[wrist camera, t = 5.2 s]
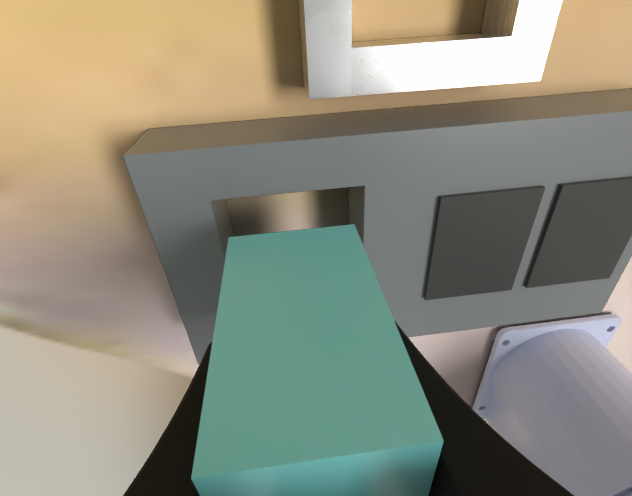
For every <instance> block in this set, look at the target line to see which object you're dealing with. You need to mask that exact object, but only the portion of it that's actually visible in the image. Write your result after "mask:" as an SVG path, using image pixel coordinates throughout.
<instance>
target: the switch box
mask: <svg viewBox="0 0 632 496" xmlns="http://www.w3.org/2000/svg"><path fill="white" fill-rule="evenodd" d="M123 157H124V160H125V163H126V166H127V168H128V171H129V174H130V177H131V179H132V182H133V185H134V188H135V190H136V193H137V196H138V199H139V202H140V204H141V207H142V210H143V213H144V215H145V218H146V221H147V224H148V226H149V229H150V232H151V235H152V237H153V240H154V243H155V246H156V249H157V251H158V254H159V257H160V260H161V262H162V265H163V268H164V271H165V273H166V276H167V279H168V282H169V284H170V287H171V290H172V293H173V296H174V298H175V301H176V304H177V307H178V309H179V312H180V315H181V318H182V320H183V323H184V326H185V329H186V331H187V334H188V337H189V340H190V343H191V345H192V348H193V351H194V354H195V356H196V359H197V362H198V364H200V363H201V361H202V358H203V356H204V354H205V351H206V349H207V347H208V345H209V344H210V343H211V342H212V341H213V335H214V328H215V322H216V315H217V309H218V303H219V296H220V290H221V283H222V277H223V270H224V264H225V258H226V251H227V245H228V238H229V237H234V234H233V230H232V225H231V220H230V216H229V211H228V206H227V201H226V199H231V198H241V197H252V196H262V195H272V194H283V193H293V192H303V191H313V190H324V189H334V188H344V187H349V225H351V224H355V227H356V229H357V232H358V234H359V237H360V239H361V241H362V244H363V246H364V249H365V251H366V253H367V256H368V258H369V261H370V263H371V266H372V268H373V270H374V273H375V275H376V278H377V280H378V283H379V285H380V287H381V290H382V292H383V295H384V297H385V300H386V302H387V304H388V307H389V309H390V312H391V314H392V316H393V319H394V321H396V322H397V324H398V325H399V327H400V328H401V329H402V330H403V332H404V333H405V334H406V336H407V337H414V336H422V335H430V334H437V333H445V332H453V331H461V330H469V329H477V328H485V327H492V326H500V325H508V324H516V323H524V322H532V321H539V320H547V319H555V318H563V317H571V316H579V315H586V314H594V313H601V312H602V310H603V308H604V306H605V305H606V303H607V301H608V299H609V297H610V295H611V293H612V292H613V290H614V288H615V286H616V284H617V282H618V280H619V279H620V277H621V275H622V273H623V271H624V269H625V267H626V266H627V264H628V262H629V260H630V258H631V256H632V89H621V90H609V91H597V92H585V93H573V94H561V95H548V96H536V97H524V98H512V99H500V100H488V101H476V102H464V103H452V104H440V105H428V106H416V107H404V108H392V109H380V110H368V111H356V112H344V113H332V114H320V115H308V116H296V117H284V118H272V119H259V120H247V121H235V122H223V123H211V124H199V125H187V126H175V127H163V128H151V129H148V130H147V131H146V132H145V133H144V134H143V135H142V136H141V137H140V138H139V139H138V140H137V141H136V142H135V143H134V145H133V146H132V147H131V148H130V149H129V150H128V151H127V152H126V153H125V154H124V155H123Z"/></svg>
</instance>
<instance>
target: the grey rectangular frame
mask: <svg viewBox="0 0 632 496" xmlns="http://www.w3.org/2000/svg"><path fill="white" fill-rule="evenodd" d="M298 1H299V17H300V32H301V47H302V63H303V78H304V89H305V91H306V93H307V95H308V97H309V99H321V98H333V97H346V96H358V95H371V94H383V93H396V92H408V91H421V90H433V89H446V88H458V87H471V86H483V85H496V84H508V83H521V82H533V81H540V80H541V77H542V73H543V69H544V66H545V62H546V58H547V55H548V51H549V47H550V44H551V40H552V36H553V33H554V29H555V26H556V22H557V18H558V15H559V11H560V7H561V4H562V0H487V1H486V7H485V13H484V18H483V24H482V30H481V33H473V34H459V35H445V36H430V37H416V38H402V39H387V40H373V41H359V42H352V0H298Z"/></svg>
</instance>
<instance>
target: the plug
mask: <svg viewBox="0 0 632 496" xmlns="http://www.w3.org/2000/svg"><path fill="white" fill-rule="evenodd" d="M443 442H444V440H443V438H442V435H441V433H440V430H439V428H438V426H437V423H436V421H435V418H434V416H433V413H432V411H431V409H430V406H429V404H428V401H427V399H426V396H425V394H424V392H423V389H422V387H421V384H420V382H419V379H418V377H417V375H416V372H415V370H414V367H413V365H412V363H411V360H410V358H409V355H408V353H407V350H406V348H405V346H404V343H403V341H402V338H401V336H400V333H399V331H398V329H397V326H396V324H395V321H394V319H393V316H392V314H391V312H390V309H389V307H388V304H387V302H386V300H385V297H384V295H383V292H382V290H381V287H380V285H379V283H378V280H377V278H376V275H375V273H374V270H373V268H372V266H371V263H370V261H369V258H368V256H367V253H366V251H365V249H364V246H363V244H362V241H361V239H360V237H359V234H358V232H357V229H356V227H355V224H351V225H341V226H332V227H322V228H312V229H303V230H293V231H283V232H274V233H264V234H255V235H245V236H235V237H229V238H228V245H227V251H226V258H225V264H224V270H223V277H222V283H221V290H220V296H219V303H218V309H217V315H216V322H215V328H214V335H213V341H212V348H211V354H210V360H209V367H208V373H207V380H206V386H205V393H204V399H203V405H202V412H201V418H200V425H199V431H198V438H197V444H196V450H195V457H194V463H193V470H192V476H191V479H192V481H193V483H194V485H195V487H196V489H197V491H198V493H199V495H200V496H428V495H429V492H430V488H431V485H432V481H433V477H434V474H435V470H436V467H437V463H438V460H439V456H440V453H441V449H442V446H443Z"/></svg>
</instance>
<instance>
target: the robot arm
mask: <svg viewBox="0 0 632 496" xmlns="http://www.w3.org/2000/svg"><path fill="white" fill-rule="evenodd" d="M620 323H621V318H620V317H619V316H618V315H616V314H608V315H600V316H592V317H584V318H576V319H568V320H561V321H553V322H545V323H537V324H529V325H522V326H514V327H506V328H503V329H501V330H499V331H498V333H497V335H496V338H495V341H494V344H493V347H492V350H491V353H490V356H489V359H488V362H487V366H486V369H485V372H484V375H483V378H482V381H481V384H480V387H479V390H478V393H477V396H476V399H475V402H474V405H473V408H471V407H470V406H469V405H468V404H467V403H466V402H465V401H464V400H463V399H462V398H461V397H460V396H459V395H458V394H457V393H456V392H455V391H454V390H453V389H452V388H451V387H450V386H449V385H448V384H447V383H446V381H445V380H444V379H443V378H442V377H441V376H440V375H439V374H438V373H437V371H436V370H435V369H434V368H433V367H432V366H431V365H430V364H429V362H428V361H427V360H426V359H425V358H424V357H423V355H422V354H421V353H420V352H419V351H418V349H417V348H416V347H415V346H414V344H413V343H412V342H411V341H410V339H409V338H408V337H407V336H406V334H405V333H404V332H403V330H402V329H401V328H400V327H399V325H398V324H397V322H396V321H395V324H396V326H397V329H398V331H399V333H400V336H401V338H402V341H403V343H404V346H405V348H406V350H407V353H408V355H409V358H410V360H411V363H412V365H413V367H414V370H415V372H416V375H417V377H418V379H419V382H420V384H421V387H422V389H423V392H424V394H425V396H426V399H427V401H428V404H429V406H430V409H431V411H432V413H433V416H434V418H435V421H436V423H437V426H438V428H439V430H440V433H441V435H442V438H443V440H444V442H443V446H442V449H441V453H440V456H439V460H438V463H437V467H436V470H435V474H434V477H433V481H432V485H431V488H430V492H429V495H428V496H632V373H631V372H630V371H629V370H628V369H627V368H626V367H625V366H624V365H623V364H622V363H621V362H620V361H619V360H618V359H617V358H616V357H615V356H614V355H613V354H612V353H611V352H610V351H609V350H608V349H607V348H606V347H607V345H608V343H609V342H610V340H611V338H612V337H613V335H614V333H615V332H616V330H617V328H618V327H619V325H620ZM211 348H212V342H211V343H210V344H209V345H208V347H207V349H206V351H205V354H204V356H203V358H202V361H201V363H200V365H199V367H198V369H197V371H196V373H195V375H194V377H193V380H192V382H191V384H190V386H189V388H188V390H187V391H186V393H185V395H184V397H183V399H182V401H181V403H180V405H179V406H178V408H177V410H176V412H175V414H174V416H173V417H172V419H171V421H170V423H169V424H168V426H167V428H166V430H165V431H164V433H163V434H162V436H161V438H160V440H159V441H158V443H157V445H156V446H155V448H154V450H153V451H152V453H151V454H150V456H149V458H148V459H147V461H146V462H145V464H144V466H143V467H142V468H141V470H140V471H139V473H138V474H137V476H136V478H135V479H134V480H133V482H132V484H131V485H130V486H129V488H128V489H127V491H126V492H125V494H124V495H123V496H200V495H199V493H198V491H197V489H196V487H195V485H194V483H193V481H192V479H191V476H192V470H193V463H194V457H195V450H196V444H197V438H198V431H199V425H200V418H201V412H202V405H203V399H204V393H205V386H206V380H207V373H208V367H209V360H210V354H211ZM482 418H486V419H487V421H488V423H489V425H488V424H487V423H486V422H485V421H484V420H483V419H482Z"/></svg>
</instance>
